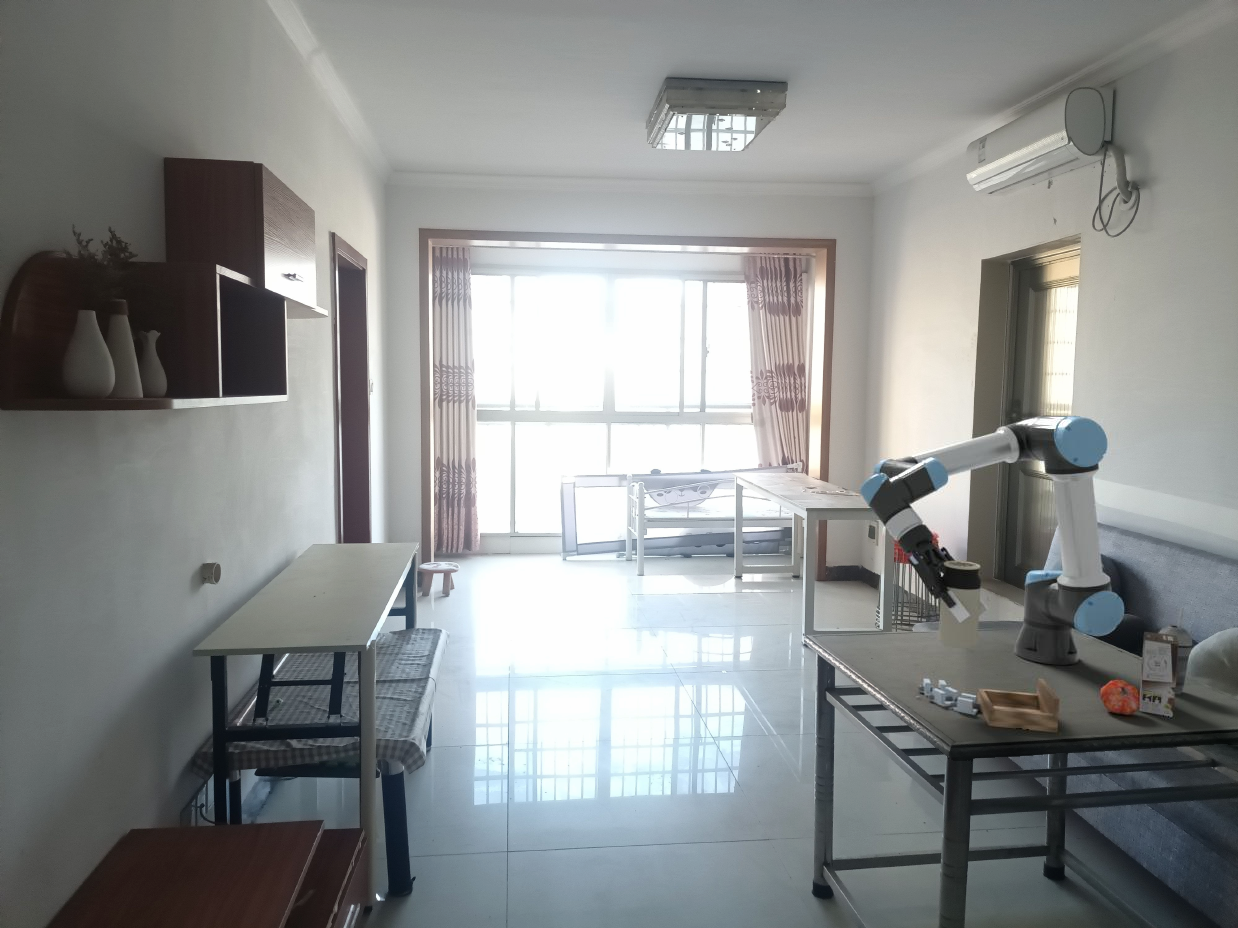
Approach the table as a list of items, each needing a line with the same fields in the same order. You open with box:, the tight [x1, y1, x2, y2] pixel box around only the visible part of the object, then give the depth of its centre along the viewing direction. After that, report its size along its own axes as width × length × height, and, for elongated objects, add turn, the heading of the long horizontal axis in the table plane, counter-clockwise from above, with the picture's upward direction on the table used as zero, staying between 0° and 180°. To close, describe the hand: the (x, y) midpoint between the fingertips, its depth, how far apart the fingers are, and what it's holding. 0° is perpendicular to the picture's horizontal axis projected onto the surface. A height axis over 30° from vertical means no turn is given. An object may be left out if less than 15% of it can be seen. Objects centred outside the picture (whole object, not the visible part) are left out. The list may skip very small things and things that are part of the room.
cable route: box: [917, 678, 981, 716], centre depth 188 cm, size 12×14×3 cm
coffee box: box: [1139, 631, 1179, 718], centre depth 186 cm, size 9×6×16 cm
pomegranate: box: [1100, 679, 1140, 716], centre depth 184 cm, size 7×7×10 cm
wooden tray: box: [976, 678, 1060, 734], centre depth 179 cm, size 13×13×7 cm
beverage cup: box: [1158, 607, 1194, 695], centre depth 198 cm, size 7×7×20 cm
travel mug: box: [938, 560, 982, 650], centre depth 186 cm, size 8×8×18 cm
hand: (974, 615), depth 183 cm, fingers closed on travel mug, 8 cm apart
